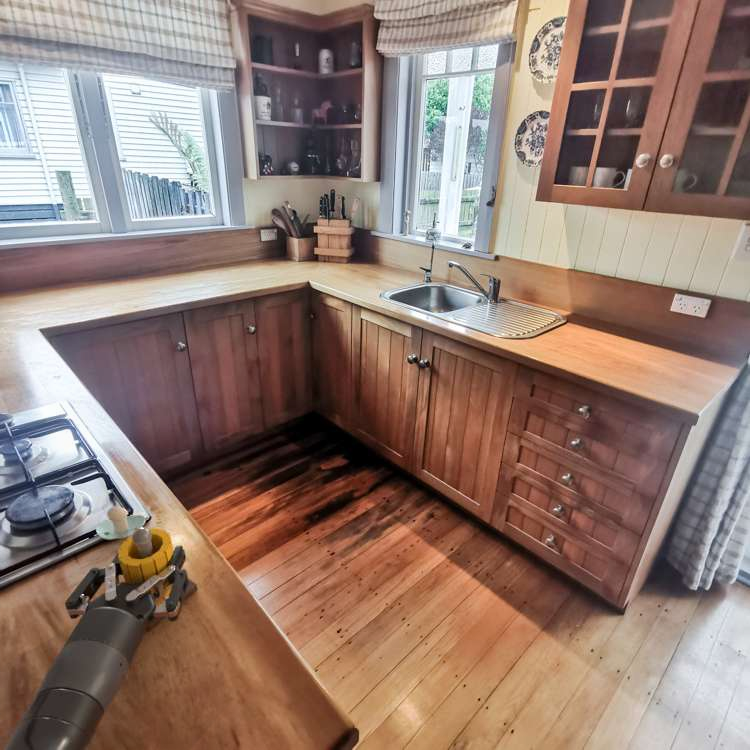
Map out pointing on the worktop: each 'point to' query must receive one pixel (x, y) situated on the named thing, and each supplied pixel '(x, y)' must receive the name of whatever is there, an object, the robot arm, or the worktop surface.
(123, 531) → the pacifier
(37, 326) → the worktop surface
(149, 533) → the stand
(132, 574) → the yellow grooved hollow cylinder
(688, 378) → the worktop surface
